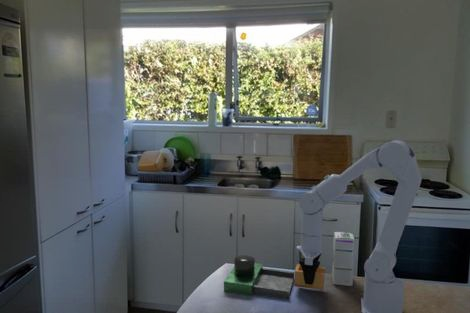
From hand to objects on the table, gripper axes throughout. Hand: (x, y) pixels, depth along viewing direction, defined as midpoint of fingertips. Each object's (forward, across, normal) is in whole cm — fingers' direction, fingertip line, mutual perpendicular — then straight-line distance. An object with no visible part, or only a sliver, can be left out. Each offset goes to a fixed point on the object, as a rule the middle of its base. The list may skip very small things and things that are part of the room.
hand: (309, 279), depth 108 cm
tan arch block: (+2, 0, 0) cm, 2 cm away
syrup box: (+4, -9, +9) cm, 13 cm away
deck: (+3, 0, -14) cm, 14 cm away
